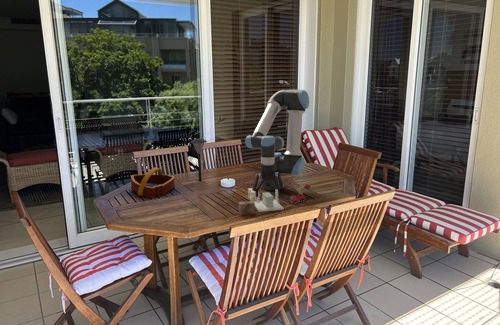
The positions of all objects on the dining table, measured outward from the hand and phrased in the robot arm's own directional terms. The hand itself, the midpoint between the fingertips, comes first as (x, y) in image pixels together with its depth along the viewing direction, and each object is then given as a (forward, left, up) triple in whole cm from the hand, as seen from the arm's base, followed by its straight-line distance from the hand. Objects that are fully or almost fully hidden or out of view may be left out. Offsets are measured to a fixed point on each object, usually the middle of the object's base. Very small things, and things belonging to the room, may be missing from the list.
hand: (267, 201), depth 210 cm
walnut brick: (+7, -14, -3) cm, 16 cm away
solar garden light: (-65, -31, -3) cm, 72 cm away
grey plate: (0, 0, -3) cm, 3 cm away
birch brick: (-14, -5, -3) cm, 15 cm away
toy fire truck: (-3, +21, -3) cm, 21 cm away
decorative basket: (-51, -64, -3) cm, 82 cm away
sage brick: (0, 0, -2) cm, 2 cm away
